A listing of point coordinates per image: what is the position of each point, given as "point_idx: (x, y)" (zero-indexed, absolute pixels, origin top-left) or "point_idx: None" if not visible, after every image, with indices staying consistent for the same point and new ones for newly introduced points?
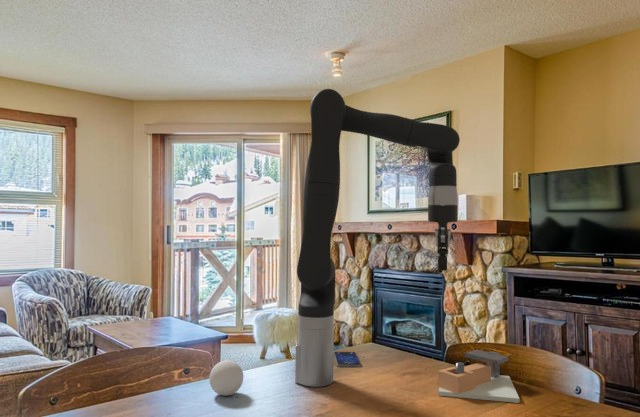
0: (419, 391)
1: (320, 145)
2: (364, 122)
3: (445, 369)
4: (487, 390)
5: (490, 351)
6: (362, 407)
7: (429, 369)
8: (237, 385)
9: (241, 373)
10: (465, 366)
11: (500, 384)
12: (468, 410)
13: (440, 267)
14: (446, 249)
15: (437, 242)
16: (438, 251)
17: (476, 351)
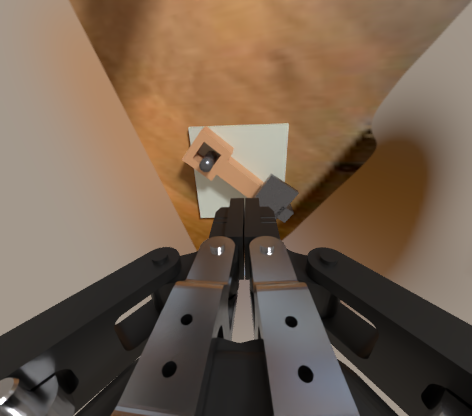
0: (196, 96)
1: None
2: None
3: (211, 141)
4: (215, 188)
5: (291, 211)
6: (88, 7)
7: (313, 105)
8: None
9: None
10: (238, 170)
11: (244, 204)
12: (155, 163)
13: (218, 211)
14: (130, 317)
15: (165, 325)
16: (136, 263)
17: (287, 192)
